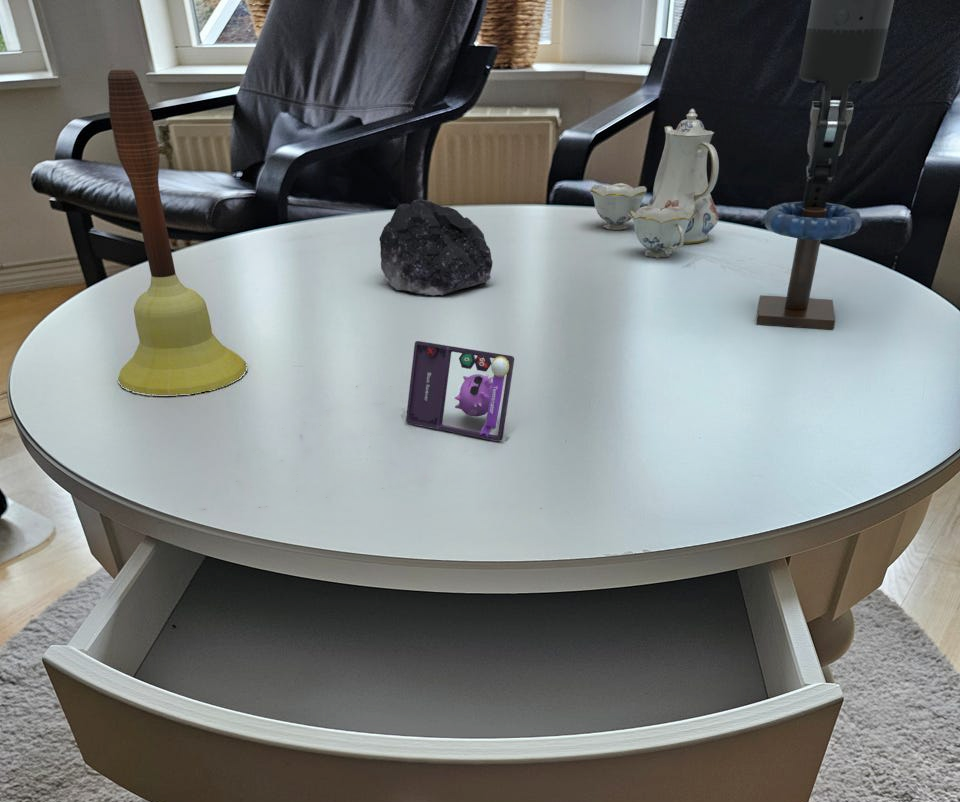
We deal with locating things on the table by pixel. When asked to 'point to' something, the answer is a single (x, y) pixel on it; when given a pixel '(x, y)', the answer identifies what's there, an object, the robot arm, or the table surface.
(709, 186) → the chinaware
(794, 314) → the post
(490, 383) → the game card
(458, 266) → the dark grey rock
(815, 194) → the robot arm
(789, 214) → the ring
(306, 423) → the table surface
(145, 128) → the handbell
